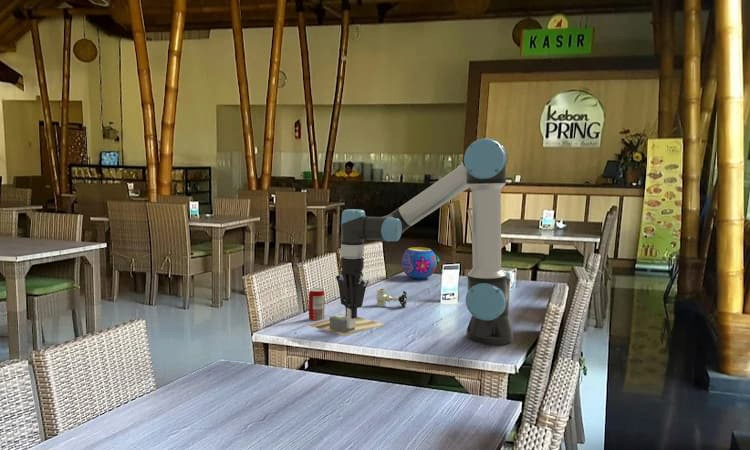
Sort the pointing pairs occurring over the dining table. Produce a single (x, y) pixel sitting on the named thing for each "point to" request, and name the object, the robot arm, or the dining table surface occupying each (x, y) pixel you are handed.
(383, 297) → the valve
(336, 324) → the block
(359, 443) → the dining table surface
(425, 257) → the ceramic pot
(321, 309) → the soda can
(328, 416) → the dining table surface
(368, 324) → the panel
